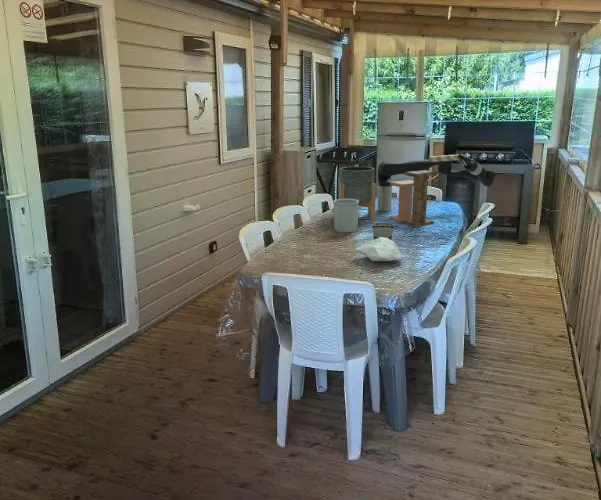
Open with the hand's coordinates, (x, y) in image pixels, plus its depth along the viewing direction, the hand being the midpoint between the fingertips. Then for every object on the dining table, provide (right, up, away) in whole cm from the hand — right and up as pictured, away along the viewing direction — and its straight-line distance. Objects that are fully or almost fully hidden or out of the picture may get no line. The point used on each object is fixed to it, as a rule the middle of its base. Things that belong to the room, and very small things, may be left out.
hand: (456, 155), depth 347 cm
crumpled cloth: (-60, -64, -76) cm, 117 cm away
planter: (-62, -39, +15) cm, 74 cm away
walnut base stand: (-25, -43, -3) cm, 50 cm away
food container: (-54, -55, -45) cm, 89 cm away
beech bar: (-7, -4, -2) cm, 8 cm away
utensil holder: (-71, -48, -18) cm, 88 cm away
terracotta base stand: (-31, -40, +8) cm, 51 cm away
